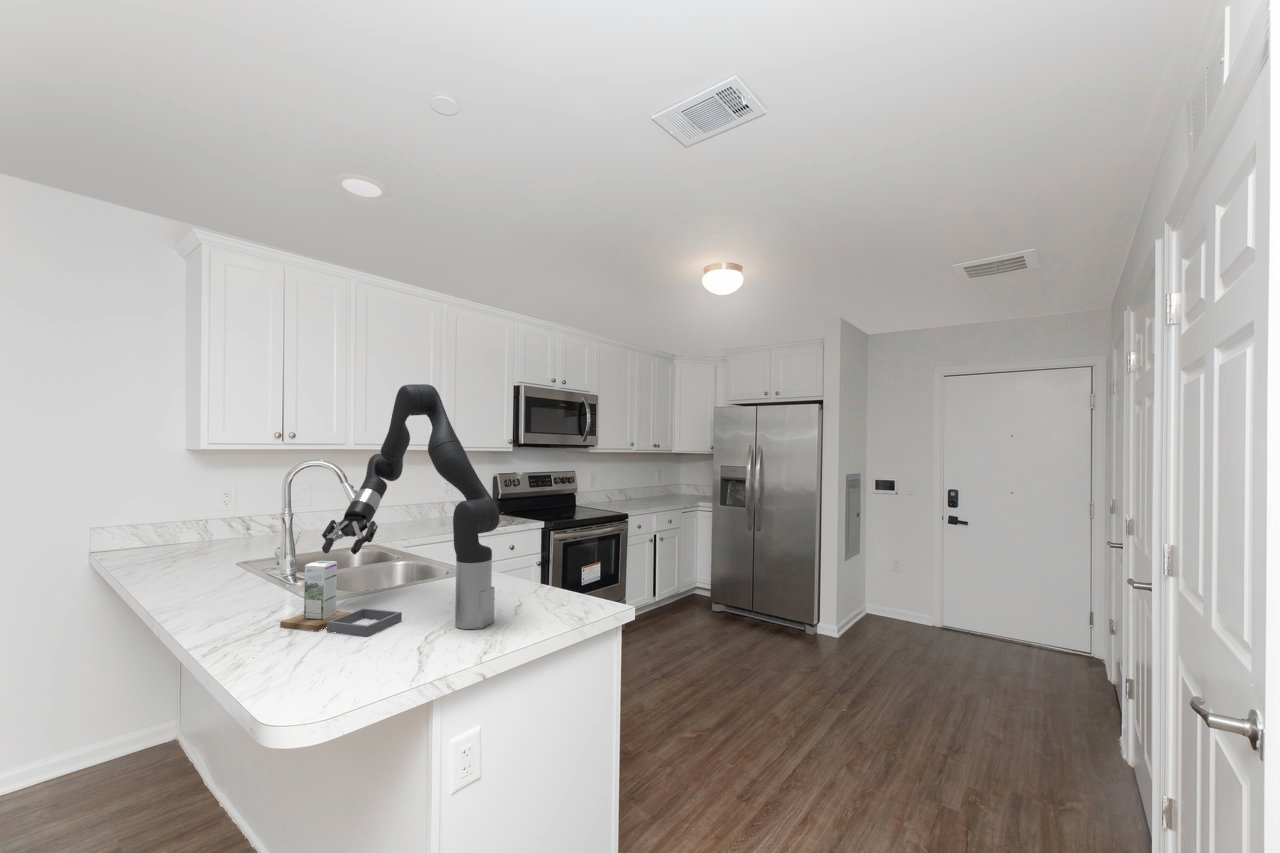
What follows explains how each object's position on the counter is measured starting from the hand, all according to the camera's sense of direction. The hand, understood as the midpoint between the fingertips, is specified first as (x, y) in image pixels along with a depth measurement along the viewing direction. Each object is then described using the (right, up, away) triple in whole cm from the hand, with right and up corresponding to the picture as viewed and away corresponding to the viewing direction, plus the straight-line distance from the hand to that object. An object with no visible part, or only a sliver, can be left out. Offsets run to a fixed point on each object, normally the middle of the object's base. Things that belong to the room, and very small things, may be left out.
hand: (338, 552), depth 159 cm
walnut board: (-1, -17, -8) cm, 19 cm away
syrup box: (-1, -16, -8) cm, 18 cm away
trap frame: (+13, -17, -11) cm, 24 cm away
